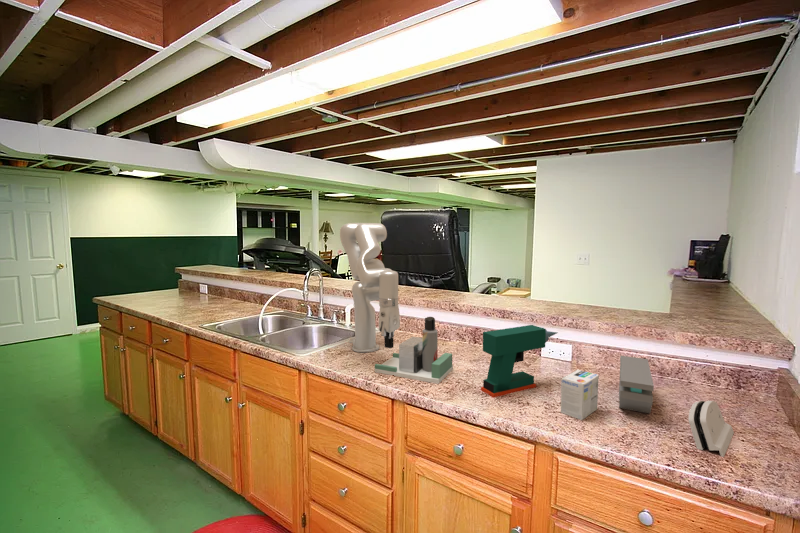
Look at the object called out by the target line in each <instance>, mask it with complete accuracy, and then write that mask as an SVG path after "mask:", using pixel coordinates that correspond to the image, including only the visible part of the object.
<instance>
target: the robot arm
mask: <svg viewBox="0 0 800 533" xmlns="http://www.w3.org/2000/svg"><path fill="white" fill-rule="evenodd" d="M387 232H388V231H387V228H386V226H385V225H384V224H382V223H380V222H348V223H347V222H346V223H344V224H343V225H341V227H340V228H339V239H340V241H341V245H342V247H343V249H344V251H345V254H346V255H347V260H348V266H349V270H350V273H351V276H352V278H353V279H354V280H356V282H355V283H353V284H352V286H351V294H352V299H353V308H354V310H353V311H354V337H352V336H351V337H349V339H348V343H349V344H352V346H351V350H352V351H354V352H356V353H372V352H376V351H378V350H379V349H380V344H378V343H377V340H376V338H377V337H376V336H377V333H376V332H377V331H376V330H377V329H376V328H377V327H376V310H375V307H374V306H373V305H372V303H371V302H374V301H379V303H378V305H379V310H378V311H379V312H378V331H379V332H381V333H380V335H381V336H382V337H383V338H384V340H383V341H384V348H386V349H392V348H394V337H395V331H397V330H398V329H399V328H400V326H401V322H400V321H401V318H400V317H401V316H400V307H399V273H398V271H396V270H392V269H391V268H387V267H385V264H384V263H383V261H382V260H381V259H379V258H377V257H378V256H379V255H380V253H381V249H382V248H381V246H380V244H379V242H384V241H386V239H387V237H388V233H387Z"/></svg>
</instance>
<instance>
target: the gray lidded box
mask: <svg viewBox="0 0 800 533" xmlns="http://www.w3.org/2000/svg"><path fill="white" fill-rule="evenodd" d="M619 360H620V361H619V363H620V364H619V365H620V366H619V383H618V384H619V385H618V388H619V389H618V392H619V393H618V405H619V406H618V408H619V409H624V410H630V411H634V412H639V413H645V414H651V411H652V407H653V403H654V402H653V400H654V398H653V397H654V394H653V392H654V387H655V385H654V381H653V376H652V372H651V368H650V363H649V359H648V358H641V357H633V356H627V355H620V357H619Z"/></svg>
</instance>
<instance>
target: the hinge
mask: <svg viewBox="0 0 800 533" xmlns="http://www.w3.org/2000/svg"><path fill="white" fill-rule="evenodd" d="M688 423H689V424H688V425H689V427H690V430H691V434H692V437H693V439H694V443H695V446H696V449H697V450H700V451H704V449H707V450H709V451H719V455H720V457H722V458H724V457H725V455H726V453H727V450H728V448H729V446H730V444H731V441H732V438H733V435H734V434H735V432H734V429H733V427H732V425H731V424H729V423H727V422H726V421H725V418H724V416H723V414H722V412H721V409H720V407H719V404H718V403H717V401H714V400H706V401H705V400H699V401H695V402H694V403H692V405H691V406H690V409H689V412H688Z"/></svg>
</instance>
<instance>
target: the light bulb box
mask: <svg viewBox="0 0 800 533" xmlns="http://www.w3.org/2000/svg"><path fill="white" fill-rule="evenodd" d="M599 376H600V375H599V374H597V373H592V372H588V371H585V370H580V369H575V370H574V371H573V372H571V373H569V374H567V375H565V376H563V377H562V378H561V384H560V385H561V387H560V388H561V389H560V413H561V414H564V415H566V416H569V417H572V418H575V419H576V420H580V421H583V420H585V419H586V418H587V417H588V416H590V415H591V414H593V413H594V412H595V411H596V410H598V401H599V400H598V399H599V378H600V377H599Z"/></svg>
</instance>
